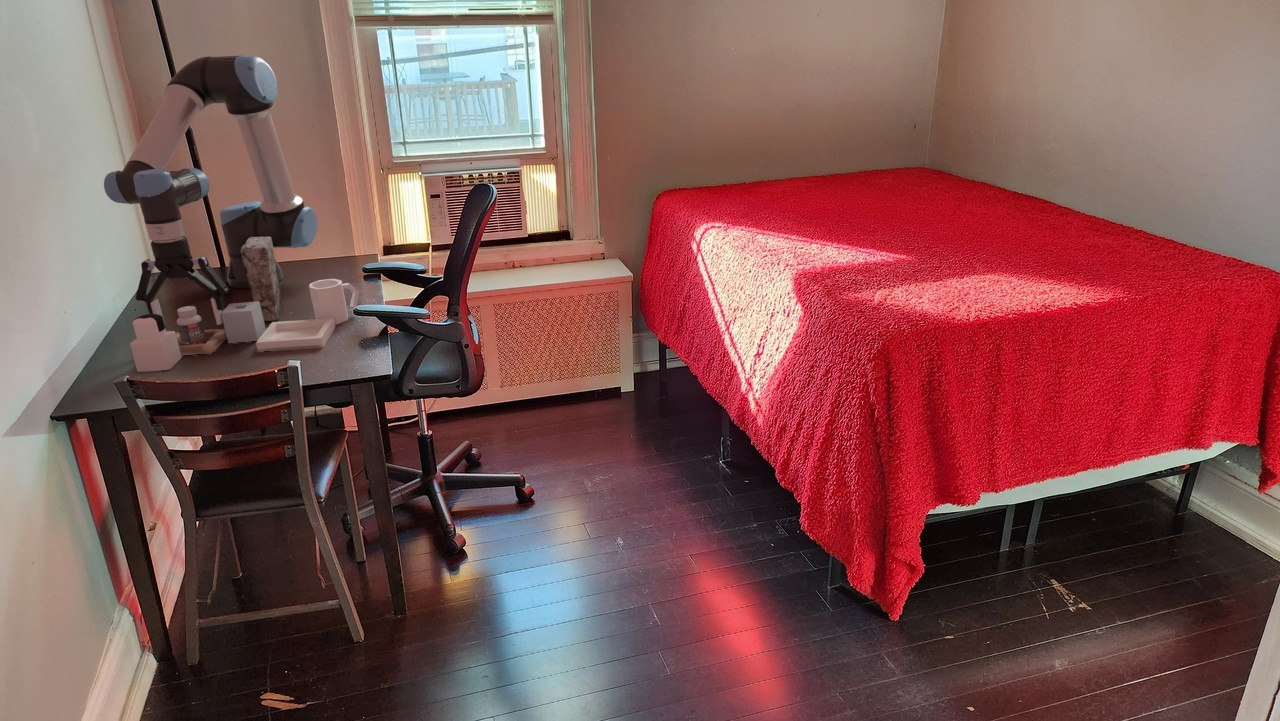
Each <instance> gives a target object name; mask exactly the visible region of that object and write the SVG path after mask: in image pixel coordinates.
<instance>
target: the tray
mask: <svg viewBox="0 0 1280 721" xmlns="http://www.w3.org/2000/svg"><path fill="white" fill-rule="evenodd" d="M335 329H336V325H335V322H334V318H327V319H313V318H312V319H301V320H286V321H271V323H270V324H269V326H268V327H267V328H266V331H265V332H264V333H263V334H262V336H261V337H260V338H259V339H258V341H257V342H255V346H256V350H257V353H265V352H264V351H271V352H281V351H282V352H283V351H296V350H297V351H299V350H311V349H314V350H315V349H323V348H324V347H325V346H326V344H327V342H328V341H329V339H330V337H331V336H332V334H333V332H334V331H335Z"/></svg>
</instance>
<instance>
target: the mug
mask: <svg viewBox="0 0 1280 721" xmlns="http://www.w3.org/2000/svg"><path fill="white" fill-rule="evenodd" d="M308 288H309V292H310V298H311V303H312V308H313V312H314V314H313V315H314V318H315V319H327V318H334V322H335V326H336V325H338V324H341V323H345V322H346V321H347V322H348V320H349V313H348V309H347V308H348V307H347V302H346V298H345V292H344V290H345V289H349V291H351V292H352V295H351V299H350V305H349V306H350V307H351V308H355V307H358V301H359V296H360V291H359V290H358V289H356V288H355V287H354V286H353V285H352V284H350V283H349V282H346V283H343V281H342V280H341V279H337V278H336V279H335V278H328V279H327V278H326V279H319V280H316V281H314V282H311V283H309V285H308ZM355 309H356V308H355Z"/></svg>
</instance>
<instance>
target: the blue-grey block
mask: <svg viewBox="0 0 1280 721" xmlns="http://www.w3.org/2000/svg"><path fill="white" fill-rule="evenodd" d="M221 316H222V320H223V322H222V324H223V328H224V329H225V331H226V335H227V339H226V340H227V343H228V344H229V343H233V344H236V343H235V342H246V343H249V342H248V341H258V339H259V338H260V337H261V336H262V334H263V333H264V332H265V331H266V329H267V328H266V324H265V321H264V319H263V315H262V311H261V307H260V302H259V301H257V302H254V301H248V302H246V301H245V302H237V303H236V302H233V303H229V304H228V305H227V306H226V307H224V309H223V310H222V312H221Z"/></svg>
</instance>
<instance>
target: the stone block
mask: <svg viewBox="0 0 1280 721" xmlns="http://www.w3.org/2000/svg"><path fill="white" fill-rule="evenodd" d="M241 256H242V260H243V264H244V268H245V271H246V275H247V278H248V281H249V285H250V288H249V289H250V292H251V296H252V300H253V301H252V302H257V301H259V302H260V307H261V311H262V315H263V319H264V322H277V321H278V320H280V317H281V315H282V309H283V305H282V298H281V297H282V295H281V289H280V283H279V282H280V281H278V277H277V271H276V264H275V260H276V257H275V251H274V248H273V244H272V239H271V237H250V238H248V240H247V241H246V243H245V245H243V246H242V248H241Z"/></svg>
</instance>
